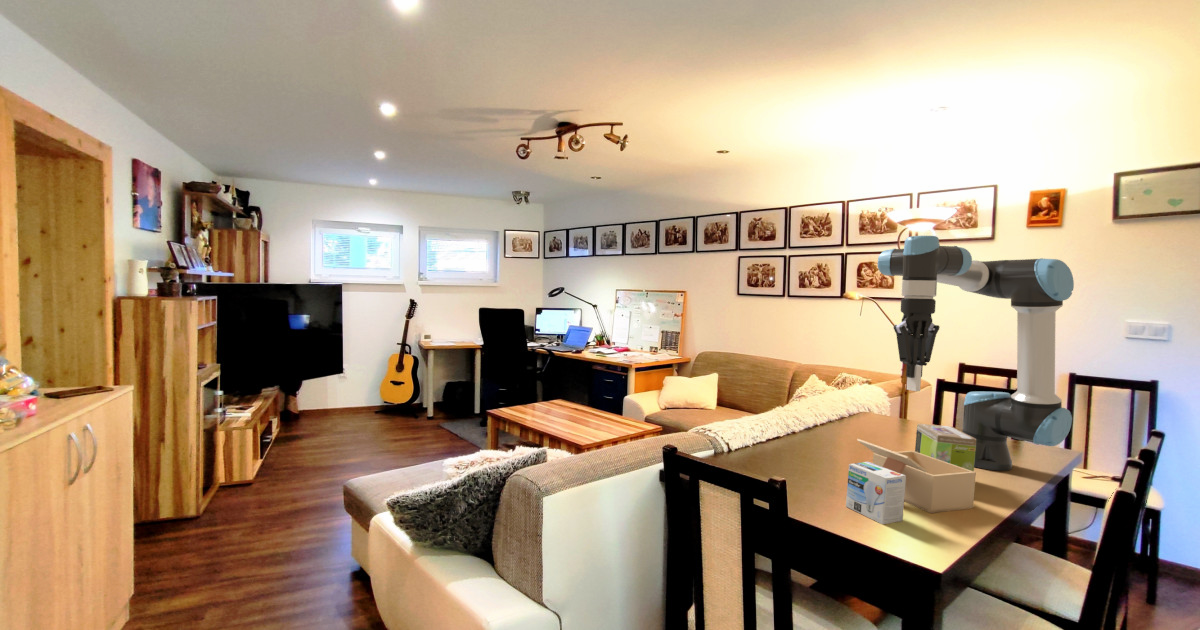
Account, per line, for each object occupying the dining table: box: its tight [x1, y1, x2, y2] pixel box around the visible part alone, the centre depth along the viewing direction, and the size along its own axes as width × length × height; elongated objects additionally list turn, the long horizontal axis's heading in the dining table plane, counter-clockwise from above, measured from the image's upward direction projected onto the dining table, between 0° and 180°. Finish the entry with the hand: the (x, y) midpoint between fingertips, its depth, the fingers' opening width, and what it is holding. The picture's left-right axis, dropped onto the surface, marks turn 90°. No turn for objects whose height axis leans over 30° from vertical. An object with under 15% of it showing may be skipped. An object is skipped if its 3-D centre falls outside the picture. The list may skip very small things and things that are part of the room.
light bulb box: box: [845, 461, 906, 525], centre depth 126 cm, size 11×7×11 cm, turn 23°
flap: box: [856, 438, 927, 474], centre depth 135 cm, size 8×15×8 cm
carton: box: [872, 450, 977, 514], centre depth 139 cm, size 14×18×9 cm
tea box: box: [914, 423, 976, 472], centre depth 152 cm, size 15×10×15 cm, turn 168°
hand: (913, 390), depth 136 cm, fingers closed
